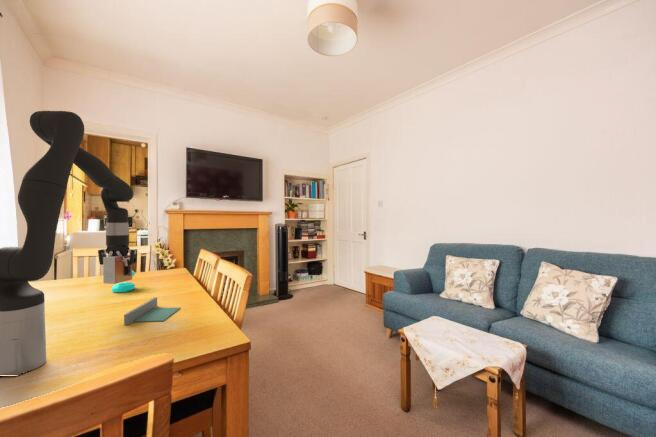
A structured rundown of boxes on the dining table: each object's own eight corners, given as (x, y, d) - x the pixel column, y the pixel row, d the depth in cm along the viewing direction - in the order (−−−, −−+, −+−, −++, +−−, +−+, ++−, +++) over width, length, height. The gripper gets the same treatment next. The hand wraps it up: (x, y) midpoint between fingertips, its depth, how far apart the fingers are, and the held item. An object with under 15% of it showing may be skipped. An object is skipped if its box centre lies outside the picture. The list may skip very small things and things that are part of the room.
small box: (114, 284, 108) (114, 257, 108) (102, 283, 109) (102, 257, 109) (132, 279, 116) (132, 254, 116) (121, 278, 117) (121, 253, 117)
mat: (163, 321, 108) (163, 320, 107) (133, 321, 107) (133, 320, 107) (180, 308, 121) (180, 307, 121) (154, 308, 121) (154, 307, 121)
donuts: (139, 270, 150) (120, 274, 140) (139, 288, 150) (121, 294, 141) (125, 269, 153) (106, 273, 143) (125, 287, 153) (106, 292, 144)
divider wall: (127, 325, 104) (127, 314, 104) (124, 325, 104) (124, 314, 104) (157, 306, 124) (157, 297, 124) (154, 306, 124) (154, 297, 124)
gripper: (91, 234, 108) (92, 277, 108) (130, 234, 109) (130, 277, 109) (106, 233, 115) (106, 273, 116) (141, 233, 116) (142, 272, 117)
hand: (118, 274), depth 112 cm, fingers closed on small box, 6 cm apart
